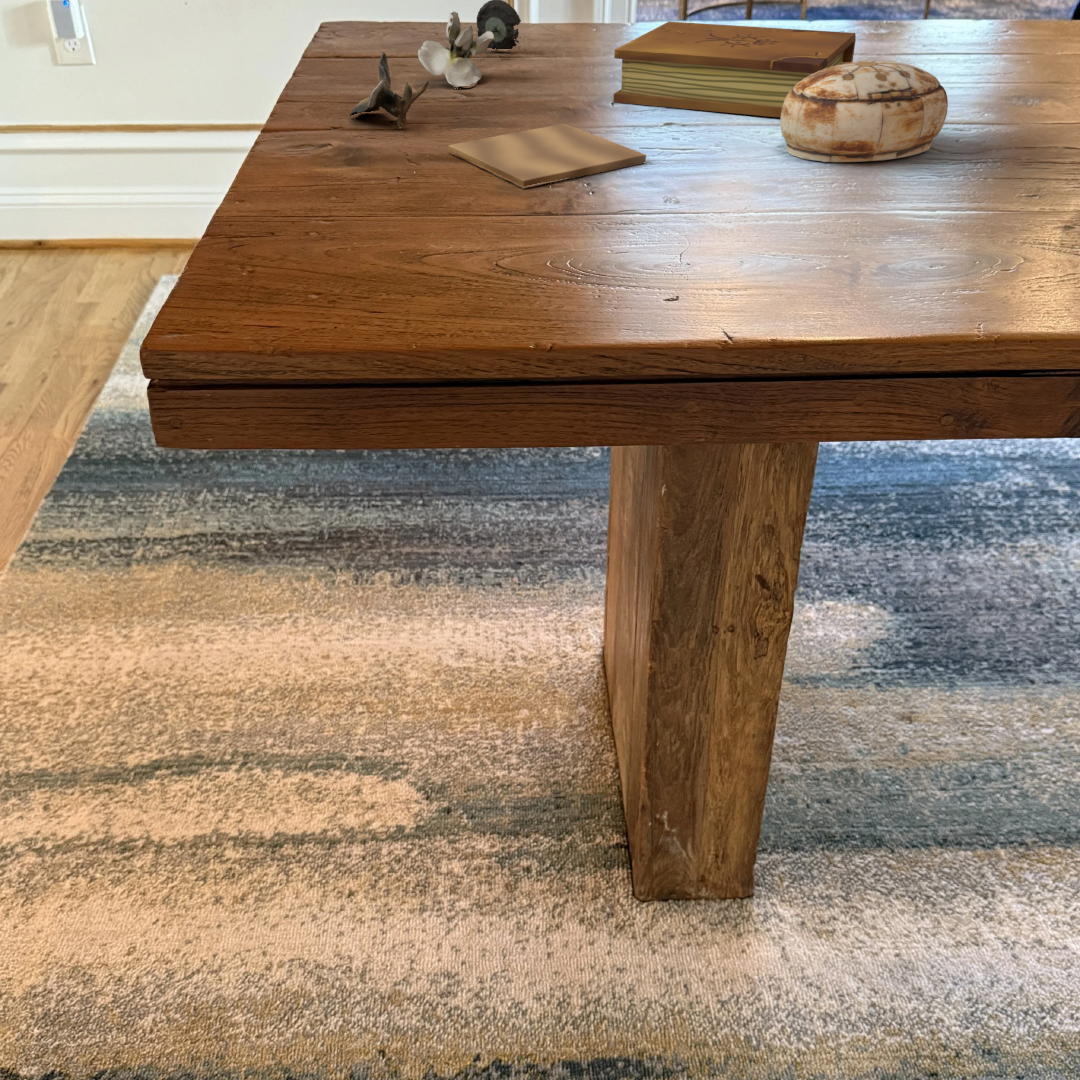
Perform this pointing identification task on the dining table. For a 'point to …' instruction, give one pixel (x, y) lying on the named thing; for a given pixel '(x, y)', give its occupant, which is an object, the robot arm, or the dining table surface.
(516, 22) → the artificial flower
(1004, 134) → the dining table surface
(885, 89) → the trinket box
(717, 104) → the diary
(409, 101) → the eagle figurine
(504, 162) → the cork trivet
